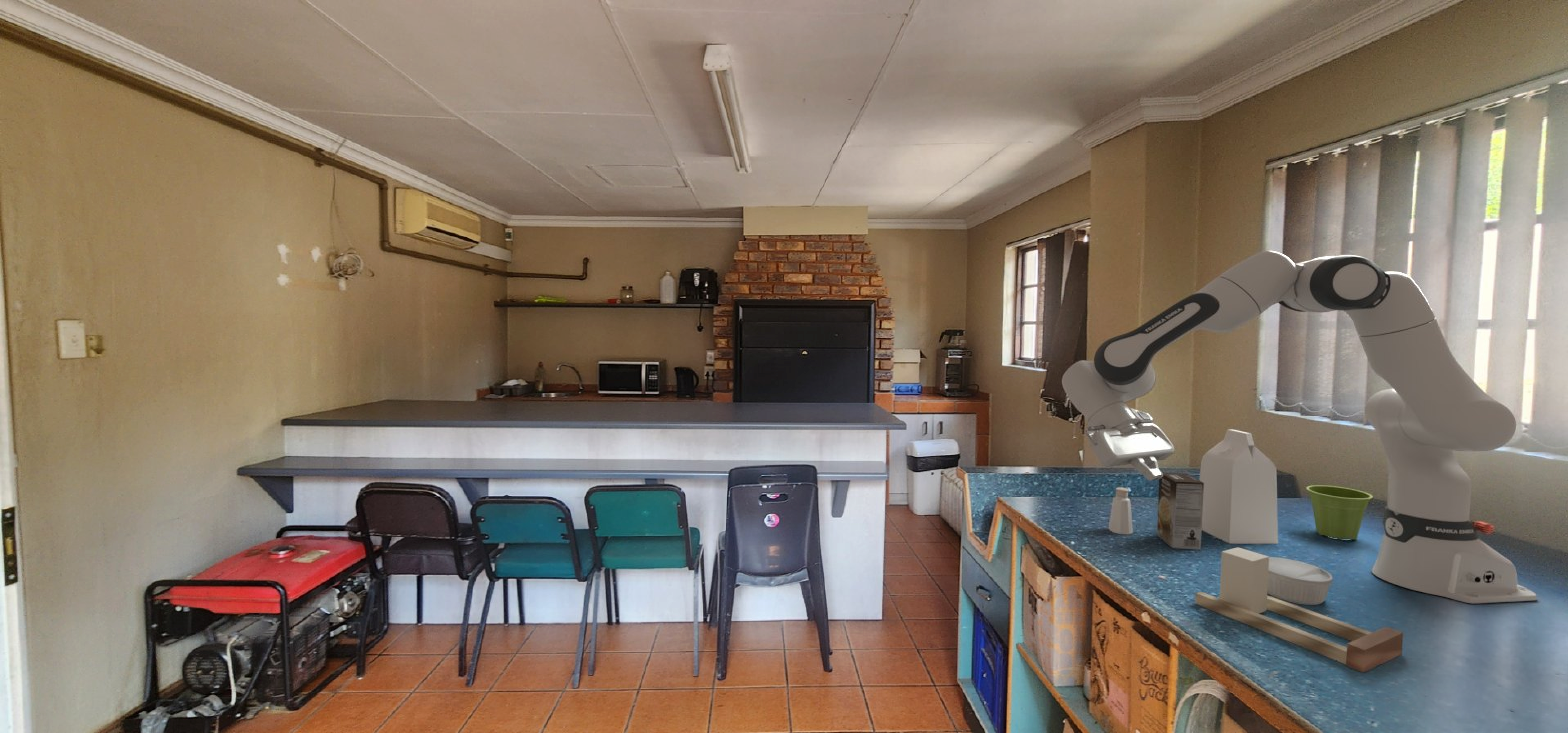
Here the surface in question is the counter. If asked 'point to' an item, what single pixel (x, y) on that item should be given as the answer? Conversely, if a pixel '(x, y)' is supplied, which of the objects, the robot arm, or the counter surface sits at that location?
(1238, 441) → the milk
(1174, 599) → the counter surface
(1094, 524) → the counter surface
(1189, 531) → the coffee box
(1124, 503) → the pepper shaker
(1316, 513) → the plant pot
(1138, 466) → the robot arm
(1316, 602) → the ramekin
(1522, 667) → the counter surface
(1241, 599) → the block
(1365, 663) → the keeper track
